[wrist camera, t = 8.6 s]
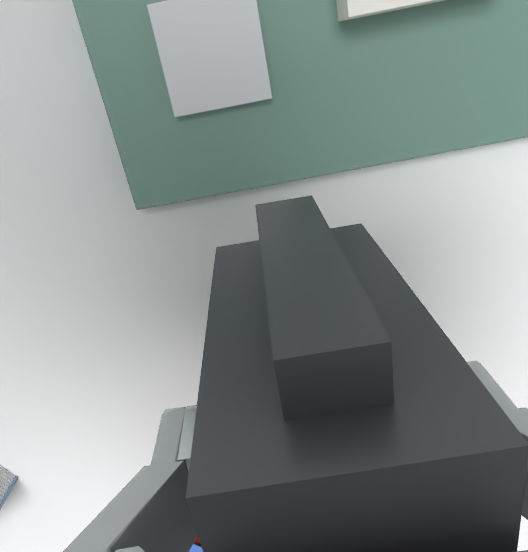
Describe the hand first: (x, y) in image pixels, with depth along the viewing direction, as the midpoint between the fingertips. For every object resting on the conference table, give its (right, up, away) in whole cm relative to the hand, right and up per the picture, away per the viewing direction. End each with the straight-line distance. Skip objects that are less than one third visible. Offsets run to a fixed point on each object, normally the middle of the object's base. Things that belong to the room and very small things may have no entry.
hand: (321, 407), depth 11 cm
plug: (0, +1, +3) cm, 4 cm away
